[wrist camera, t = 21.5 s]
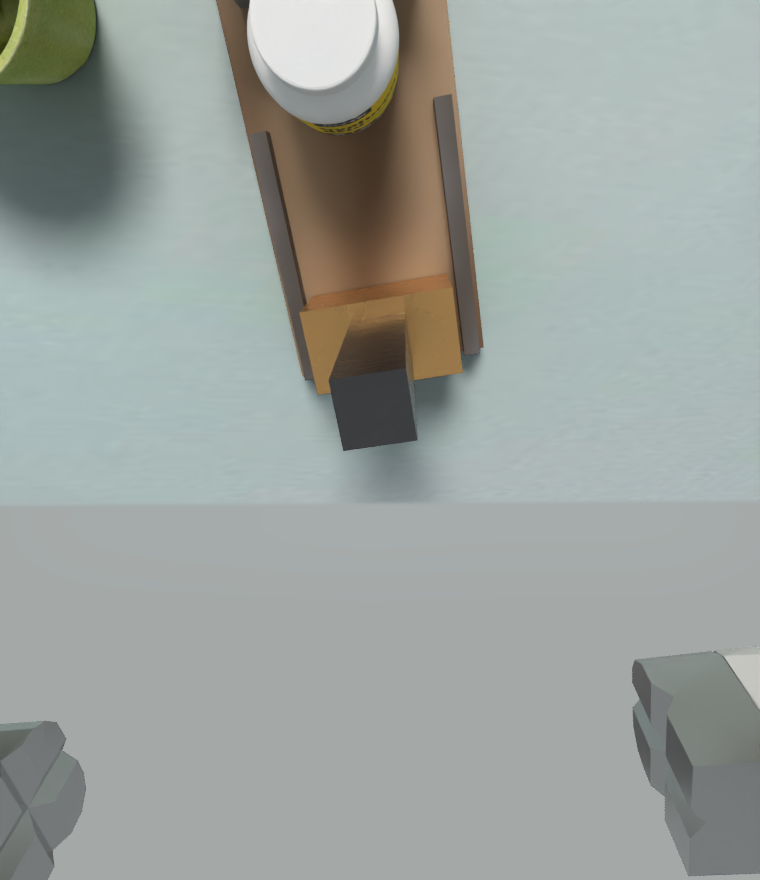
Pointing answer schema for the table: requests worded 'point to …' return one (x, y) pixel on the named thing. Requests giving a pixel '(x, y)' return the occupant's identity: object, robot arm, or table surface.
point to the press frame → (366, 179)
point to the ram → (381, 354)
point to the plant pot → (44, 39)
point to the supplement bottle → (326, 59)
